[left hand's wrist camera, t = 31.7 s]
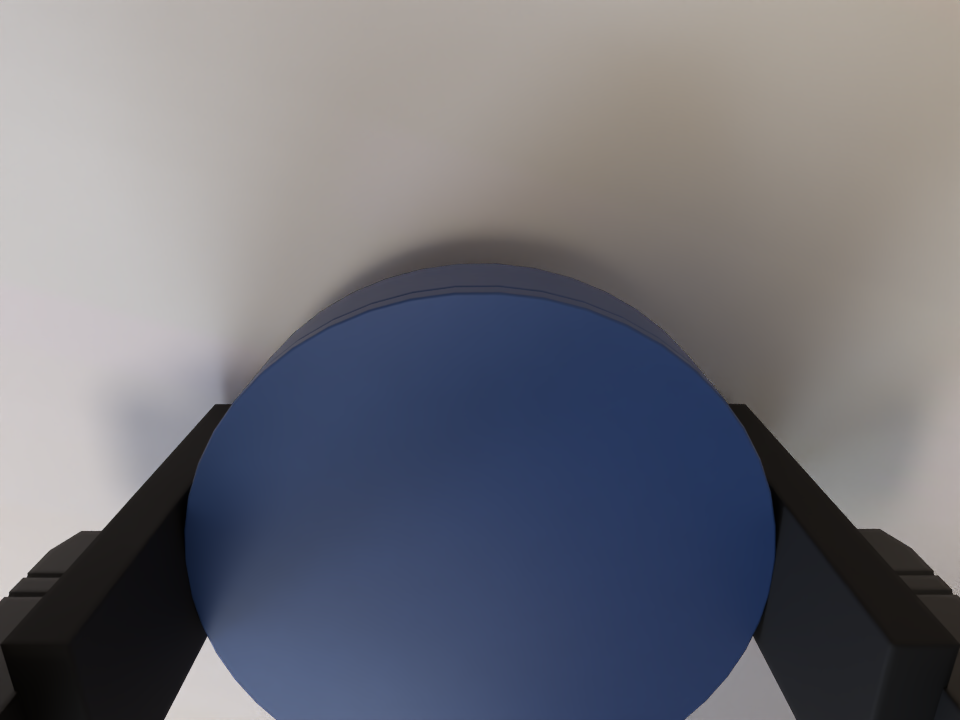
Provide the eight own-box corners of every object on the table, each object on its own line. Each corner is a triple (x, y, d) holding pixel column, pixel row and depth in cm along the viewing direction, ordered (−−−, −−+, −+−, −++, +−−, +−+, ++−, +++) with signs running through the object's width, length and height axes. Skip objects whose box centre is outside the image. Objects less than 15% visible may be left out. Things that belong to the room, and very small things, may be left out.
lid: (120, 409, 12) (57, 462, 10) (615, 158, 10) (643, 170, 8) (384, 760, 14) (371, 849, 13) (800, 602, 13) (849, 679, 11)
